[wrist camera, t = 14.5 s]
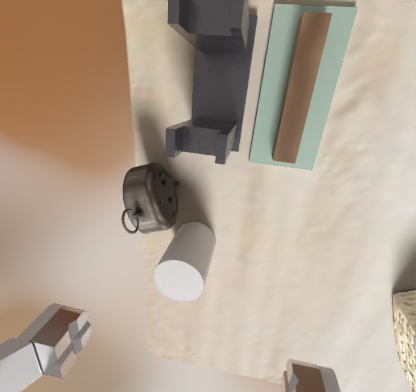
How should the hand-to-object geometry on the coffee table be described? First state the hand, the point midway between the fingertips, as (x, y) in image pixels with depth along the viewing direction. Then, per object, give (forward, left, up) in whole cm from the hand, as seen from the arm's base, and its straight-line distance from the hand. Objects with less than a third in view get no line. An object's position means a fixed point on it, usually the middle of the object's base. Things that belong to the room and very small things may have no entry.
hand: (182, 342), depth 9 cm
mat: (-7, -10, -33) cm, 35 cm away
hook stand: (+4, -10, -33) cm, 35 cm away
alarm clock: (+12, +7, -33) cm, 36 cm away
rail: (-7, -10, -32) cm, 35 cm away
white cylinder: (+6, +18, -33) cm, 38 cm away
